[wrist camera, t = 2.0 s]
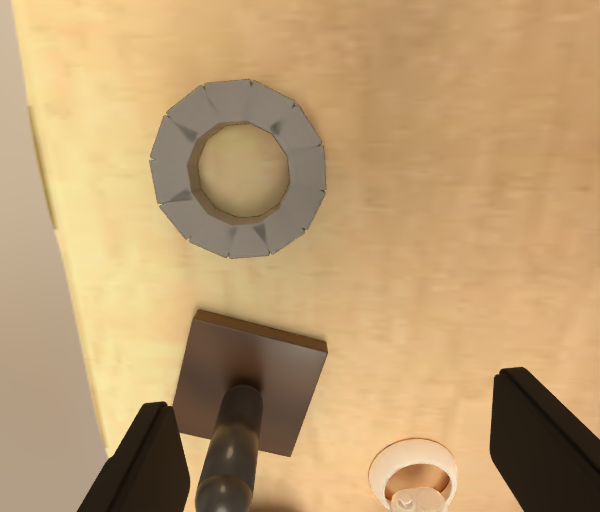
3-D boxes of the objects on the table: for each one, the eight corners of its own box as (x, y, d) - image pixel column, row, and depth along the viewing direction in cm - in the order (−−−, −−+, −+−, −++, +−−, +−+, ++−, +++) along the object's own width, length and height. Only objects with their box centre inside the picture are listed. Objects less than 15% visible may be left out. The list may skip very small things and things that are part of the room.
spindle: (198, 309, 27) (132, 421, 16) (326, 341, 28) (347, 469, 17) (173, 416, 30) (102, 574, 19) (290, 443, 31) (288, 608, 20)
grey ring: (198, 55, 22) (187, 45, 20) (349, 133, 24) (355, 132, 21) (143, 209, 25) (128, 216, 23) (282, 270, 26) (281, 282, 24)
